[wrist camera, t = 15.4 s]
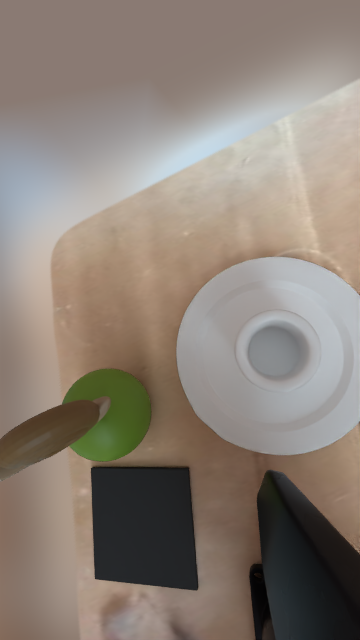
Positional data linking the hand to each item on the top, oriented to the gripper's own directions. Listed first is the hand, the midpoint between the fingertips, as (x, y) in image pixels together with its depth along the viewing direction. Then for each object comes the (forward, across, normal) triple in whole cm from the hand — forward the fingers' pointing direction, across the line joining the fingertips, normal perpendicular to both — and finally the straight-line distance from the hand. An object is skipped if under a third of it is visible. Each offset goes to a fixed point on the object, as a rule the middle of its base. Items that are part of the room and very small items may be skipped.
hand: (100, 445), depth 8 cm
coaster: (+9, -2, +13) cm, 16 cm away
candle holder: (+12, -8, 0) cm, 14 cm away
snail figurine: (+12, +1, +7) cm, 14 cm away
